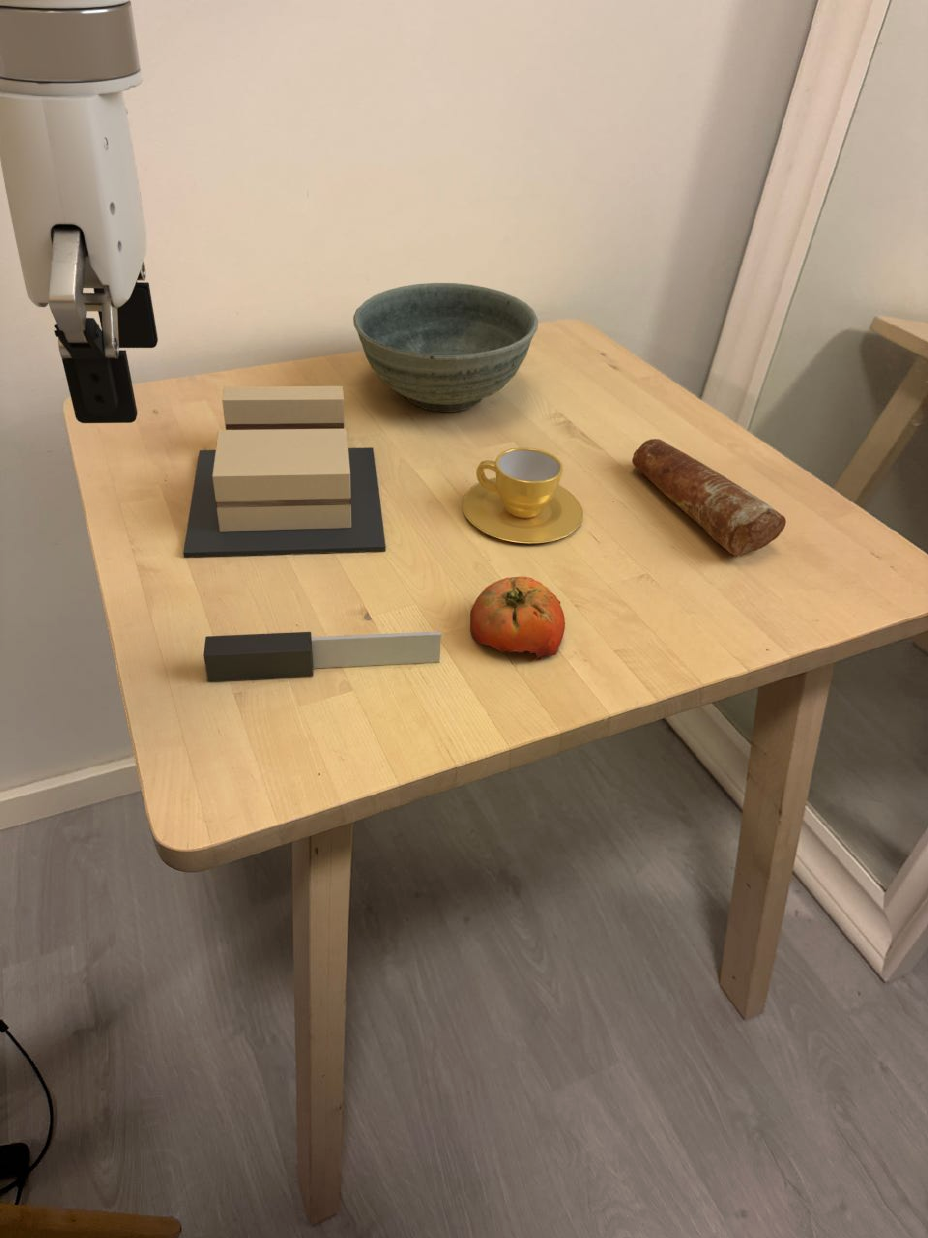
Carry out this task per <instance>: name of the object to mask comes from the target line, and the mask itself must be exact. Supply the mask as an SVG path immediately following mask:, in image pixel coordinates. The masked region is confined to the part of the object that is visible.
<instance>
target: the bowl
mask: <svg viewBox="0 0 928 1238" xmlns="http://www.w3.org/2000/svg"><path fill="white" fill-rule="evenodd" d="M352 321H353V322H352V323H353V327H354V328H355V330H356V332H357V335H358V338H359V341H360V343H361V346H362V349H363V352H364V355H365V357H366V360H367V362H368V364H369V366H370V367H371V369H372V370H373V371H374V372H375V374H376V375H377V376H378V378H379V379H380V380H381V381H382V382H383V383H384V384H385V385H386V386H387V387H389V388H390V389H392V390H393V391H395V392H396V393H398V394H399V395H401V396H404V397H406V398H407V400H408V401H409V402H410V403H411V404H413V405H415V406H417V407H419V408H422V409H424V410H429V411H434V412H439V413H440V412H443V413H453V412H454V413H455V412H460V411H464V410H468V409H471V408H473V407H475V406H477V405H478V404H480V403H481V401H482V400H483V399H484V398H487V397H490V396H492V395H494V394H495V393H496V392H498V391H500V390H501V389H503V388H504V387H505V386H506V385H507V384H508V383H509V382H510V381H511V380H512V379H513V378H514V377H515V376H516V374H517V372H518V371H519V369H520V367H521V366H522V364H523V362H524V360H525V358H526V356H527V354H528V351H529V349H530V346H531V343H532V340H533V338H534V336H535V334H536V332H537V330H538V329H539V319H538V316H537V315H536V313H535V310H534V309H532V307H531V306H530V305H529V304H528V303H526V302H525V301H523V300H522V299H520V298H518V297H517V296H514V295H512V294H510V293H506V292H504V291H500V290H497V289H494V288H489V287H486V286H479V285H475V284H467V283H459V282H428V283H416V284H409V285H404V286H399V287H394V288H391V289H387V290H383V291H382V292H379V293H377V294H374V295H373V296H371V297H370V298H368V299H366V300H365V301H364V302H363V303H362V304H361V305H359V307H357V308H356V310H355V312H354V314H353V317H352Z"/></svg>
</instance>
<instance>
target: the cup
mask: <svg viewBox="0 0 928 1238" xmlns="http://www.w3.org/2000/svg"><path fill="white" fill-rule="evenodd" d="M485 470H490V471H493V472H494V473H495V476H494V477H491V478H489V477H487V475H486V474H485ZM563 470H564V467H563V463H562V462H561V460H560V459H559V458H558V457H557V456H555V454H553V453H551V452H549V451H547V450H543V449H540V448H536V447H528V446H525V447H523V446H521V447H520V446H519V447H513V448H509V449H506V450H504V451H502V452H501V453H499V454H497V456H496V458H495V460H487V459H485V460H482V461H481V462H480V463H479V464H478V466H477V467H476V472H475V473H476V478H477V482H478V483H476V484H474V485H472V487H470V488H469V489H468V490H467V491H466V493H465V494H464V496H463V498H462V502H461V507H462V511H463V514H464V516H465V518H466V519H467V520H468V522H469V523H470V524H472V525H473V526H474V527H475V528H477V529H478V530H480V532H483V533H484V534H487V535H489V536H491V537H494V538H497V539H500V540H503V541H508V542H513V543H520V544H541V543H542V544H543V543H549V542H555V541H557V540H560V539H563V538H565V537H567V536H569V535H571V534H572V533H573V532H575V531H576V530H577V529H578V528H579V527H580V525H581V524H582V522H583V518H584V510H583V507H582V505H581V503H580V501H579V500H578V498H577V497H576V496H575V495H574V494H573V493H571V492H570V491H569V490H567V489H566V488H564V487H563V486H561V485H559V484H560V481H561V478H562V474H563Z"/></svg>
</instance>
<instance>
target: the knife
mask: <svg viewBox="0 0 928 1238" xmlns="http://www.w3.org/2000/svg"><path fill="white" fill-rule="evenodd" d="M312 635H313V634H312V631H297V632H293V631H292V632H271V633H251V634H250V633H249V634H231V635H230V634H229V635H226V634H225V635H207V636H204V637H205V638H204V646H203V654H202V657H203V663H204V668H205V674H206V675H205V676H206V680H207V683H213V682H231V681H232V682H233V681H249V680H251V681H252V680H253V681H254V680H267V679H268V680H269V679H272V680H273V679H288V678H289V679H290V678H307V677H310V678H311V677H314V669H328V668H329V669H332V668H350V667H351V668H352V667H369V666H391V665H408V664H409V665H410V664H427V663H428V664H429V663H440V659H441V642H442V632H441V630H438V631H437V630H435V631H416V632H415V631H414V632H395V633H394V632H393V633H372V634H352V635H350V634H349V635H331V636H329V635H328V636H312Z"/></svg>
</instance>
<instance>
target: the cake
mask: <svg viewBox="0 0 928 1238" xmlns="http://www.w3.org/2000/svg"><path fill="white" fill-rule="evenodd" d="M348 444H349V443H348V431H347V428H345V429H279V430H226V429H219V430H218V431H217V438H216V445H215V449H200V450H199V452H198V458H197V464H196V471H195V477H194V481H193V482H194V483H193V490H192V495H191V502H190V508H189V513H188V521H187V526H186V533H185V537H184V539H185V540H184V543H183V544H184V545H183V550H182V551H183V552H182V554H183V558H184V559H187V558H189V559H190V558H222V557H253V556H283V555H284V556H285V555H313V554H314V555H315V554H316V555H317V554H344V553H345V554H346V553H347V554H348V553H377V552H382V553H383V552H386V550H387V549H386V548H387V547H386V539H385V538H386V537H385V531H384V524H383V523H384V522H383V514H382V507H381V497H380V493H379V492H380V490H379V482H378V475H377V466H376V458H375V450H374V446H373V447H368V446H367V447H365V446H364V447H349V445H348Z"/></svg>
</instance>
